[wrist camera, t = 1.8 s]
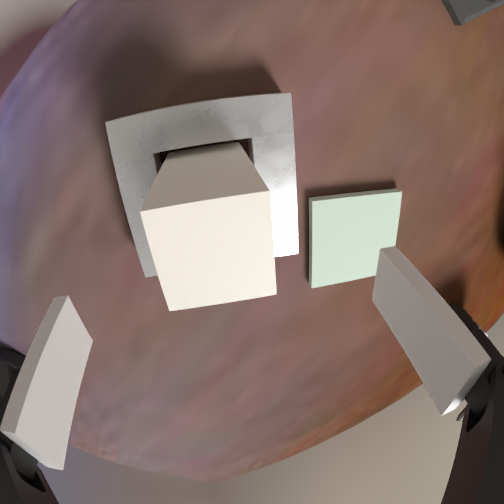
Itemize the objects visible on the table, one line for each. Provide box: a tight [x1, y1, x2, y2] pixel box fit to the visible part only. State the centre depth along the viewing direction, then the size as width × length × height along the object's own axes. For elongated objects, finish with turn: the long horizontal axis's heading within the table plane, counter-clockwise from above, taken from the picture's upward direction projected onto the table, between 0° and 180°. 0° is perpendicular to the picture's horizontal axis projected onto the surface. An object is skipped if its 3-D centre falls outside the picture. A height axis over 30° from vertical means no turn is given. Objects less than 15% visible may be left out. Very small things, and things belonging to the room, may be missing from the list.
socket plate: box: [105, 92, 298, 277], centre depth 25 cm, size 14×14×3 cm
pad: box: [309, 188, 402, 288], centre depth 31 cm, size 10×10×1 cm
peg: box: [140, 142, 277, 311], centre depth 21 cm, size 6×6×13 cm
